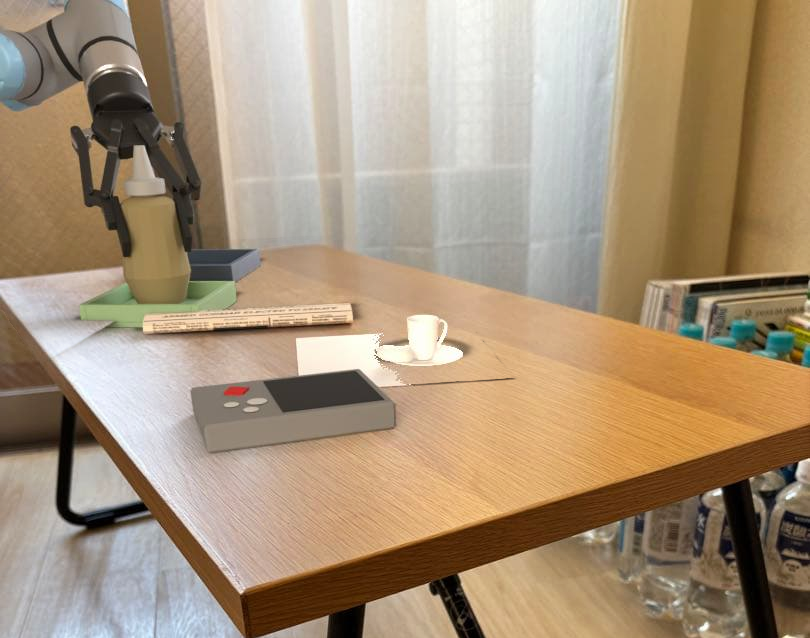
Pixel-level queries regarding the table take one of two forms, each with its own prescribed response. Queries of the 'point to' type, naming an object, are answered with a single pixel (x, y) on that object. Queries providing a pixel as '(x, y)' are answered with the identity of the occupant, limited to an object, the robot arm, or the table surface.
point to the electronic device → (290, 410)
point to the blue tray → (222, 264)
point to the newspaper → (247, 318)
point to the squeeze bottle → (153, 238)
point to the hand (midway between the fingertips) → (157, 246)
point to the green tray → (131, 314)
